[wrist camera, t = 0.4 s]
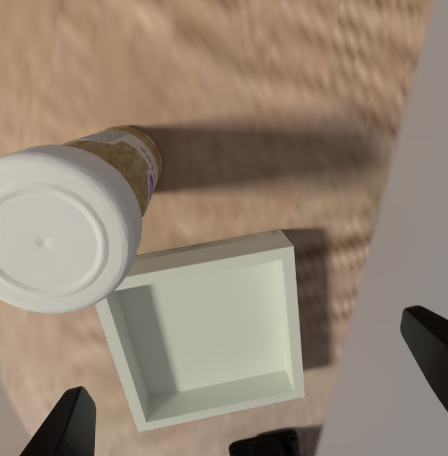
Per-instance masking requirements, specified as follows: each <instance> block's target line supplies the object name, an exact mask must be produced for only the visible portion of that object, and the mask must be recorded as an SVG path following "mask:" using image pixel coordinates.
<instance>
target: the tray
mask: <svg viewBox="0 0 448 456" xmlns="http://www.w3.org/2000/svg"><path fill="white" fill-rule="evenodd" d="M95 306H96V309H97V312H98V315H99V318H100V321H101V324H102V327H103V330H104V333H105V336H106V339H107V342H108V345H109V348H110V351H111V353H112V356H113V359H114V362H115V365H116V368H117V371H118V374H119V377H120V380H121V383H122V386H123V389H124V392H125V395H126V398H127V401H128V404H129V407H130V410H131V413H132V415H133V418H134V421H135V424H136V427H137V430H138V432H142V431H147V430H151V429H156V428H161V427H165V426H170V425H175V424H179V423H184V422H189V421H194V420H198V419H203V418H208V417H212V416H217V415H222V414H226V413H231V412H236V411H241V410H245V409H250V408H255V407H259V406H264V405H269V404H273V403H278V402H283V401H288V400H292V399H297V398H302V397H305V392H304V378H303V365H302V352H301V338H300V325H299V311H298V298H297V284H296V271H295V258H294V246H293V245H292V243H291V242H290V241H289V240H288V238H287V237H286V236H285V235H284V233H283V232H282V231H281V230H276V231H270V232H265V233H259V234H254V235H248V236H243V237H237V238H232V239H226V240H221V241H215V242H210V243H204V244H199V245H193V246H187V247H182V248H176V249H171V250H165V251H160V252H154V253H149V254H143V255H138V256H135V258H134V261H133V263H132V265H131V268H130V270H129V272H128V274H127V276H126V277H125V279H124V280H123V282H122V283H121V284H120V285H119V286H118V287H117V288H116V289H115V290H114V291H113V292H112V293H111V294H110V295H109V296H108V297H107V298H105V299H103V300H102V301H100V302H98V303H96V304H95Z"/></svg>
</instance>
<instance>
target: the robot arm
mask: <svg viewBox="0 0 448 456" xmlns="http://www.w3.org/2000/svg"><path fill="white" fill-rule="evenodd" d="M400 329H401V334H402V336H403V338H404V340H405V342H406V344H407V345H408V347H409V349H410V351H411V352H412V354H413V356H414V358H415V360H416V362H417V363H418V365H419V367H420V369H421V370H422V372H423V374H424V376H425V378H426V380H427V381H428V383H429V385H430V386H431V388H432V390H433V391H434V393H435V394H436V396H437V397H438V399H439V400H440V401H441V403H442V404H443V406H444V407H445V409H446V410H447V411H448V320H447V319H445V318H443V317H442V316H440V315H438V314H436V313H434V312H432V311H430V310H428V309H426V308H424V307H422V306H419V305H417V306H416V305H415V306H412V307H407V308H405V309H404V310H403V314H402V320H401V326H400ZM95 425H96V406H95V403H94V401H93V399H92V398H91V396H90V395H89V393H88V392H87V390H86V389H85V388H84V387H82V386H79V387H75V388H71V389H68V390H67V391H66V392H65V393H64V394H63V395H62V397H61V398H60V400H59V401H58V402H57V404H56V405H55V407H54V408H53V409H52V411H51V412H50V414H49V415H48V416H47V418H46V419H45V421H44V422H43V423H42V425H41V426H40V428H39V429H38V430H37V432H36V433H35V435H34V436H33V438H32V439H31V440H30V442H29V443H28V445H27V446H26V448H25V449H24V450H23V452H22V453H21V454H20V456H94V450H95ZM229 454H230V456H300V455H299V444H298V436H297V434H296V432H295V431H289V432H284V433H280V434H275V435H271V436H266V437H261V438H257V439H252V440H248V441H243V442H239V443H234V444H231V445H230V446H229Z"/></svg>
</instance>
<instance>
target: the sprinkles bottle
mask: <svg viewBox="0 0 448 456" xmlns="http://www.w3.org/2000/svg"><path fill="white" fill-rule="evenodd" d="M161 173H162V158H161V154H160V151H159V149H158V147H157V146H156V144H155V142H154V141H153V140H152V139H151V138H150V137H149V136H148V135H147V134H145V133H144V132H142V131H140V130H138V129H136V128H133V127H128V126H118V127H111V128H108V129H106V130H104V131H102V132H98V133H95V134H92V135H89V136H86V137H83V138H79V139H76V140H73V141H69V142H66V143H64V144H61V145H43V146H36V147H32V148H28V149H24V150H21V151H18V152H14V153H11V154H8V155H5V156H3V157H0V300H2V301H4V302H6V303H8V304H11V305H13V306H16V307H18V308H22V309H25V310H29V311H34V312H40V313H67V312H73V311H77V310H81V309H84V308H87V307H90V306H92V305H94V304H96V303H98V302H100V301H102V300H103V299H105V298H107V297H108V296H109V295H110V294H111V293H112V292H113V291H114V290H115V289H116V288H117V287H118V286H119V285H120V284H121V283H122V282H123V280H124V279H125V277H126V276H127V274H128V272H129V270H130V268H131V265H132V263H133V261H134V258H135V256H136V253H137V250H138V247H139V243H140V239H141V234H142V217H143V215H144V214H145V212H146V209H147V207H148V204H149V201H150V199H151V196H152V194H153V191H154V189H155V186H156V184H157V182H158V181H159V178H160V176H161Z"/></svg>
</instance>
